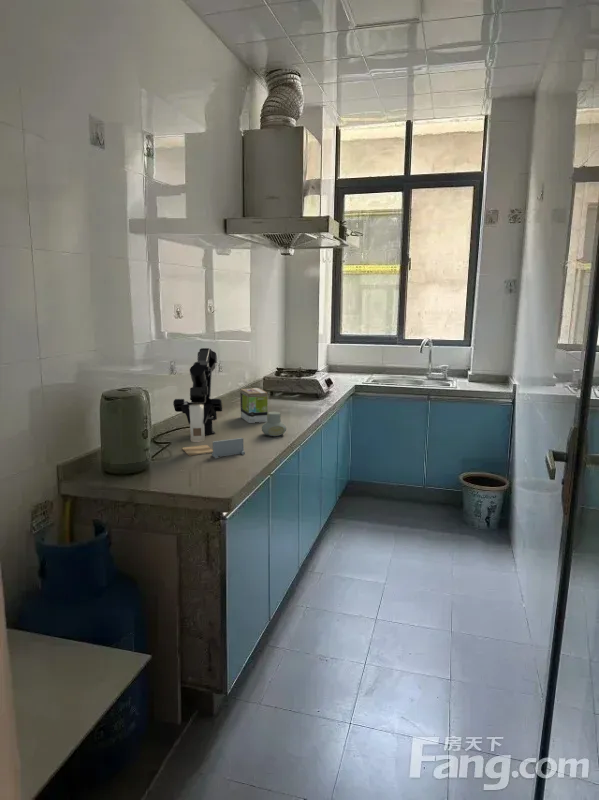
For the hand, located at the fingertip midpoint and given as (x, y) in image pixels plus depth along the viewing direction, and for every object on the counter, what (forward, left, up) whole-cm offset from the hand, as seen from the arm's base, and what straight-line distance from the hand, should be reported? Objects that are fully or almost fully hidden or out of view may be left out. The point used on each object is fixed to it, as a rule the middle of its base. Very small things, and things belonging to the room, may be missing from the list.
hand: (196, 423), depth 209 cm
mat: (-1, 0, -11) cm, 12 cm away
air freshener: (-10, +37, -12) cm, 41 cm away
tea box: (-41, +40, -12) cm, 59 cm away
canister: (-1, +1, -7) cm, 7 cm away
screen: (+9, +9, -11) cm, 18 cm away
